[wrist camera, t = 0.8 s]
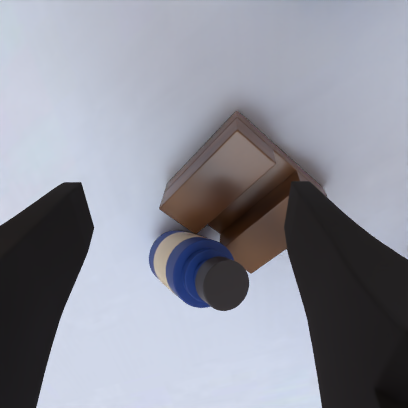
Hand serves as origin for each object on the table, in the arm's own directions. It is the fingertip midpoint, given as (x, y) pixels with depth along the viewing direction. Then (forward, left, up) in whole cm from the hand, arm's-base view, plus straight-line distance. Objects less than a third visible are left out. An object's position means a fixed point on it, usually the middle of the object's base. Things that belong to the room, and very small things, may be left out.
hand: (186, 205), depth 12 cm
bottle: (-8, +3, -10) cm, 13 cm away
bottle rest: (-6, -1, -10) cm, 12 cm away
